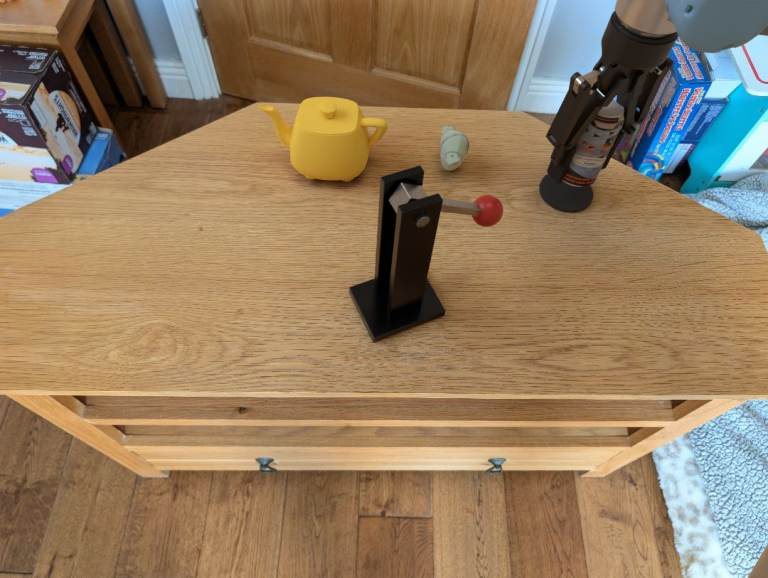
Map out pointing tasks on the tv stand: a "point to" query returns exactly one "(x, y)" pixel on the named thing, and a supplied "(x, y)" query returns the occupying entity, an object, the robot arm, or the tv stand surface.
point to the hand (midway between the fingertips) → (576, 169)
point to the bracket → (401, 262)
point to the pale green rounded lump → (453, 147)
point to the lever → (454, 204)
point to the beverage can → (595, 145)
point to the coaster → (565, 195)
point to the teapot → (328, 137)
